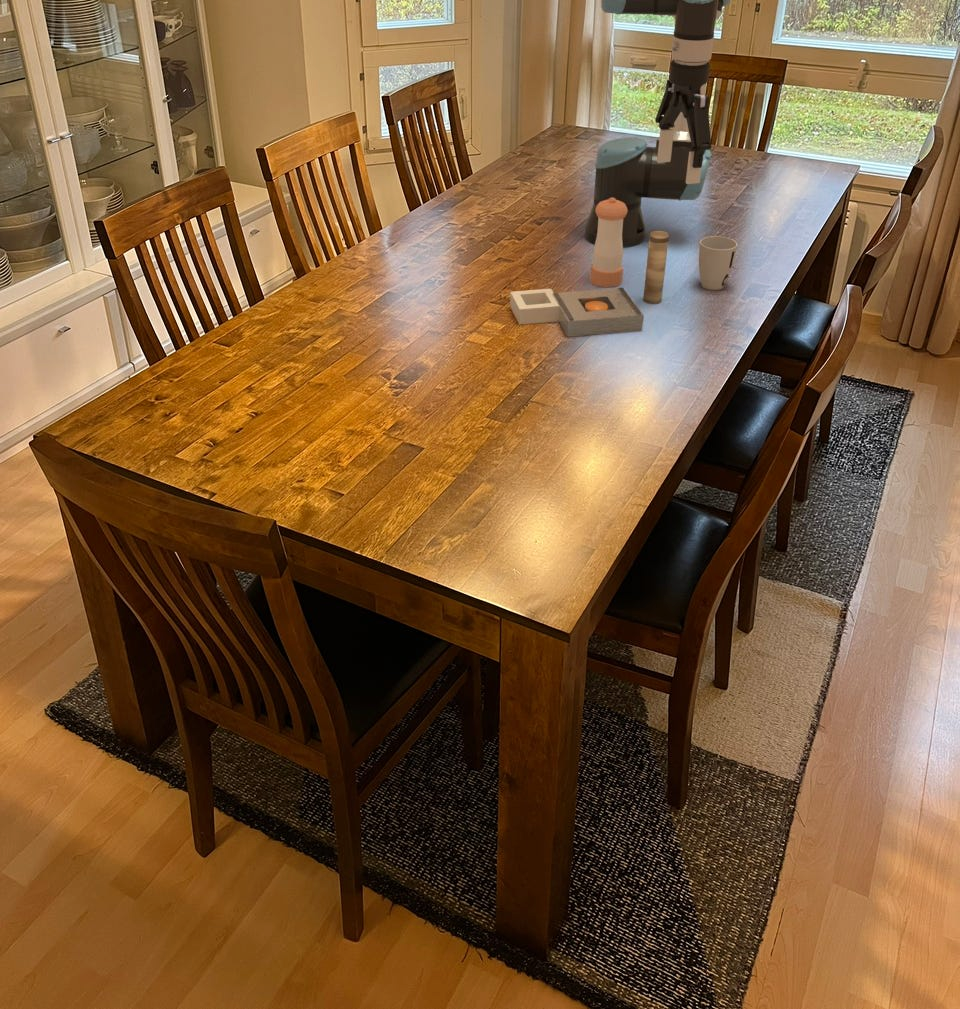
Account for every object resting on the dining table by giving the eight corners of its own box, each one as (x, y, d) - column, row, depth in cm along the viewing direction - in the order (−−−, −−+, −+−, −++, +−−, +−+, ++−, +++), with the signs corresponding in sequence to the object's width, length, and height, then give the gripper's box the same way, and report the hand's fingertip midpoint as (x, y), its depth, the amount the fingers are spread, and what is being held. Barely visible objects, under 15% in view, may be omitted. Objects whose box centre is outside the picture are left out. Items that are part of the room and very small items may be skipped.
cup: (730, 294, 222) (737, 251, 216) (693, 291, 223) (699, 248, 218) (730, 279, 228) (737, 237, 223) (694, 276, 230) (700, 234, 224)
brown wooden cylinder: (640, 297, 221) (647, 231, 212) (658, 295, 221) (665, 230, 213) (646, 304, 218) (653, 238, 209) (664, 303, 218) (671, 237, 209)
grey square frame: (550, 308, 216) (551, 292, 214) (621, 302, 218) (623, 286, 216) (567, 337, 205) (568, 320, 203) (642, 330, 207) (643, 313, 205)
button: (582, 305, 212) (582, 301, 211) (603, 304, 213) (604, 300, 212) (588, 315, 208) (588, 311, 208) (610, 313, 209) (610, 309, 208)
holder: (510, 306, 217) (510, 291, 215) (550, 303, 218) (551, 288, 216) (519, 324, 210) (519, 309, 208) (560, 321, 211) (561, 305, 209)
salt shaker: (626, 277, 229) (633, 195, 218) (616, 289, 224) (623, 205, 213) (596, 272, 232) (602, 190, 221) (585, 284, 227) (590, 200, 215)
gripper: (645, 47, 199) (636, 155, 211) (702, 78, 179) (687, 194, 192) (680, 45, 200) (668, 151, 213) (739, 74, 181) (723, 190, 194)
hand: (677, 172), depth 203 cm, fingers open, 13 cm apart
